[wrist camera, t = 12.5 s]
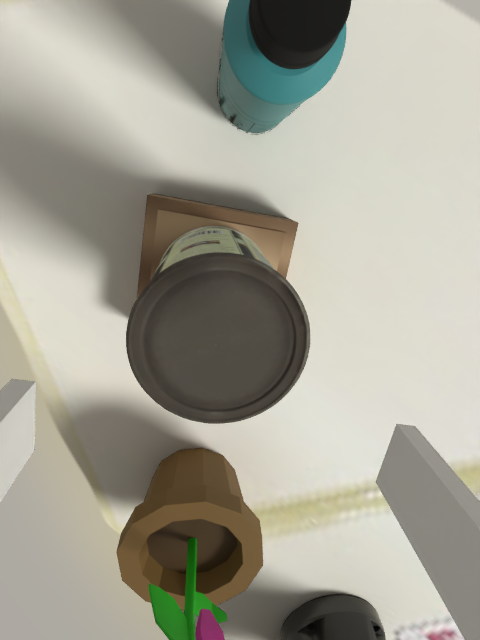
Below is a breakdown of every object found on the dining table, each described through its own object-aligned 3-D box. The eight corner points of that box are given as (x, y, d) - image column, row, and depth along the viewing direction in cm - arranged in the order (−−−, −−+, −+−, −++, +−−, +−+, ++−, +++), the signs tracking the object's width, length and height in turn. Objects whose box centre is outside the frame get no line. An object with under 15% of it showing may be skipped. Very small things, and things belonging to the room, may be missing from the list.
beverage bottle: (304, 87, 34) (425, -30, 15) (259, 154, 35) (318, 123, 17) (244, 34, 32) (297, -174, 13) (200, 106, 34) (190, 11, 15)
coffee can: (207, 357, 37) (207, 454, 24) (132, 275, 34) (84, 334, 21) (294, 291, 36) (345, 356, 22) (224, 199, 32) (236, 211, 19)
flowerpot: (277, 475, 48) (377, 893, 20) (201, 544, 51) (193, 998, 22) (187, 410, 44) (152, 822, 16) (110, 490, 47) (-38, 960, 18)
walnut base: (262, 341, 42) (268, 358, 38) (139, 324, 40) (132, 339, 36) (289, 218, 38) (298, 223, 34) (153, 193, 36) (147, 195, 32)
